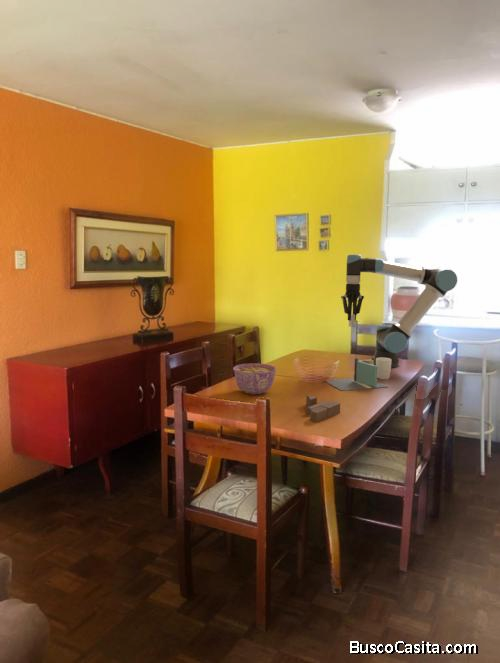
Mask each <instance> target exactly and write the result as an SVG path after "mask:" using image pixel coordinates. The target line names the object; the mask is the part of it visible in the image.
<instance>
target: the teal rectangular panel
mask: <svg viewBox="0 0 500 663" xmlns="http://www.w3.org/2000/svg"><path fill="white" fill-rule="evenodd" d="M377 367H378V366H375V365H372V364H368V363H364V362H361V361H359V360H358V361H357V372H356V381H358V382H361V383H364V384H367V385H370V386H373V387H376V386H377V382H378V378H377Z"/></svg>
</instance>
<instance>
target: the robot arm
mask: <svg viewBox="0 0 500 663" xmlns="http://www.w3.org/2000/svg"><path fill="white" fill-rule="evenodd" d="M361 273H373V274H378V275H384V276H389V277H393V278H398V279H402V280H403V279H404V280H408V281H413V282H414V281H415V282H417V283H418V284H420V285H424V286H425V287H424V289H423V291H422V292H421V293H420V294H419V296H418V297H417V299H415V301H414V302H413V303H412V304H411V306H410V307H409V308H408V310H406V312H405V313H404V314H403V316H402V317H401V318H400V319H399V320H398V322H396V323H393V324H392V325H378V326H376V331H375V332H376V335H375V337H376V338H375V352H374V354H373V357H375V366H376V358H380V357H384V358H390V359H392V361H391V368H397V367H400V360H399V356H398V353H400V352H402V351H404V350H405V349H406V347H407V345H408V341H409V340H410V339H411V337H412V335H411V334H412V331H413V330H414V329H415V327H416V326H417V325H418V324H419V323H420V322H421V320H422V319H423V318H424V316H425V315H426V314H427V313H428V311H429V310H430V309H431V307H432V306H433V305H435V303H436V302H437V300H438V299H441V298H443V297H444V296H445V295H446V294H447V293H448V292H449V291H451V290H453V289H455V287H456V286H457V283H458V276H457V274H456V272H455V271H454V270H452V269H450V268H448V267H447V268H446V267H444V268H443V267H442V268H441V267H426V266H422V267H415V266H410V265H405V264H401V263H395V262H391V261H390V262H389V261H385V260H384V259H383V258H377V257H374V258H372V257H371V258H370V257H364V258H363V257H362V254H348V255H347V258H346V276H345V277H346V278H345V281H346V284H345V294H343V295H341V296H340V298H341V299H342V304H343V311H344V314H346V315H347V320H348V327H350V328H353V327H355V325H356V324H355V321H356V320H357V315H358V314H361V313H360V312H361V309H362V303H363V300H364V298H365V296H364V295H362V294H361V292H360V291H361Z"/></svg>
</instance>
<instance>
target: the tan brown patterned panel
mask: <svg viewBox="0 0 500 663" xmlns="http://www.w3.org/2000/svg"><path fill="white" fill-rule="evenodd" d="M357 361H361V362H364V363H368V364H372V365H375V357H374V356H372V357H371V359H359V357H358V358H357V357H356V358H354V368H353V370H354V375H353V378H354V381H356V372H357Z"/></svg>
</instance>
